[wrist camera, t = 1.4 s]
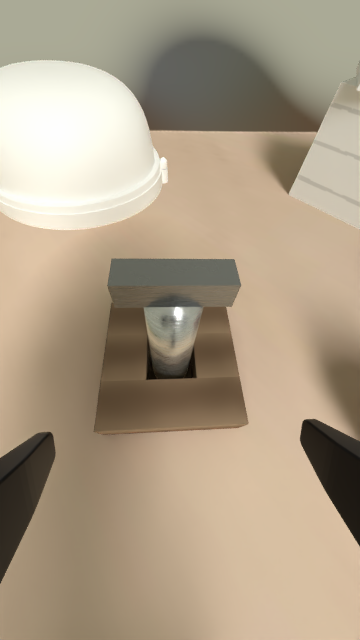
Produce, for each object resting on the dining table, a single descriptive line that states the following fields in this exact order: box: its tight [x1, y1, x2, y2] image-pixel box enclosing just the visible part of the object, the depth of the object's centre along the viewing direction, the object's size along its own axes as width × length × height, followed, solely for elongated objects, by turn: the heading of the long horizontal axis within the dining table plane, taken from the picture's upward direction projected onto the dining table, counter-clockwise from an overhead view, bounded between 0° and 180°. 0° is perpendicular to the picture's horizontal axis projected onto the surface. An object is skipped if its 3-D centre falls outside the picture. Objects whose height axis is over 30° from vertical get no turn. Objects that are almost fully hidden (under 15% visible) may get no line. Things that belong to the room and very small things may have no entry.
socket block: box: [94, 303, 248, 435], centre depth 21 cm, size 12×12×3 cm
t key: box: [108, 259, 241, 379], centre depth 17 cm, size 4×6×14 cm, turn 93°
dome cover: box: [0, 60, 168, 230], centre depth 35 cm, size 32×30×14 cm
